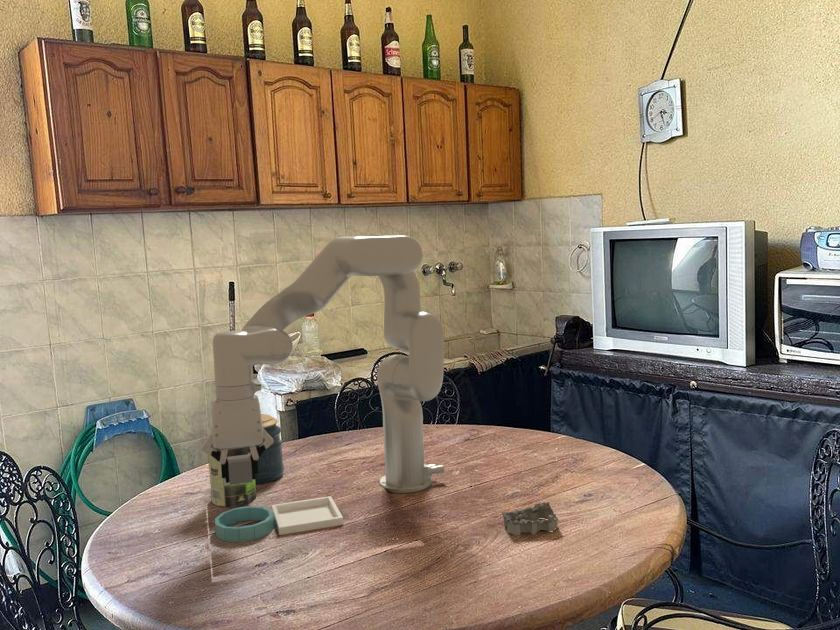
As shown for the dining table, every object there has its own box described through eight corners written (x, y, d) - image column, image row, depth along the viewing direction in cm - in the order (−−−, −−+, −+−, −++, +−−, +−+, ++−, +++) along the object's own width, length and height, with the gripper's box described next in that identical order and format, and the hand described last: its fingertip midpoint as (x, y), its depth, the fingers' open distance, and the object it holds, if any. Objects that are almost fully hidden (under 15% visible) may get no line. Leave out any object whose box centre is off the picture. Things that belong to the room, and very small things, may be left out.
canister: (259, 488, 177) (254, 418, 175) (221, 480, 183) (216, 412, 181) (294, 472, 188) (290, 405, 185) (258, 465, 194) (253, 401, 192)
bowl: (270, 518, 158) (269, 503, 157) (276, 539, 147) (275, 522, 146) (215, 527, 154) (214, 511, 154) (217, 549, 143) (216, 532, 143)
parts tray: (331, 505, 164) (330, 496, 163) (343, 528, 151) (343, 517, 151) (272, 515, 160) (271, 504, 159) (279, 538, 147) (279, 527, 147)
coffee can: (264, 495, 172) (260, 437, 171) (245, 511, 162) (241, 450, 161) (224, 493, 174) (219, 436, 173) (203, 510, 164) (198, 449, 163)
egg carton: (551, 520, 152) (551, 501, 152) (560, 534, 145) (560, 515, 144) (501, 522, 152) (500, 503, 151) (507, 537, 144) (506, 517, 144)
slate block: (250, 475, 152) (249, 454, 151) (252, 481, 148) (251, 460, 147) (228, 477, 150) (227, 456, 150) (229, 484, 146) (228, 463, 146)
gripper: (275, 384, 153) (279, 468, 155) (191, 392, 148) (197, 478, 150) (279, 391, 146) (283, 479, 148) (191, 400, 141) (197, 490, 143)
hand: (240, 478), depth 149 cm, fingers closed on slate block, 4 cm apart
